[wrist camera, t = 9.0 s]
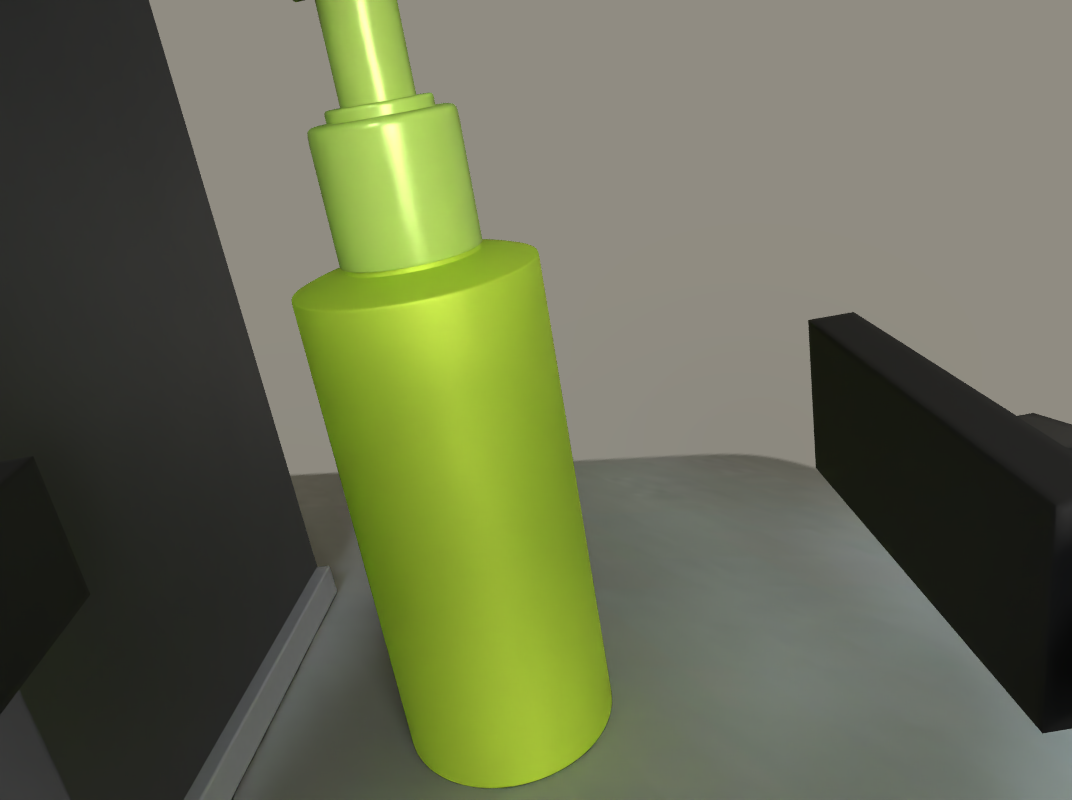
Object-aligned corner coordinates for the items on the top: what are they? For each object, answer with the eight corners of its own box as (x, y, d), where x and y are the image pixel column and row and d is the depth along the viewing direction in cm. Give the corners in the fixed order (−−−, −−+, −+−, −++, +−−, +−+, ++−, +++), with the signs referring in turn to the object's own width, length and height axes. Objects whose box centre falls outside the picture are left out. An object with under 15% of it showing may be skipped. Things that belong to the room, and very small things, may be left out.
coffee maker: (712, 556, 31) (605, -466, 21) (784, 921, 18) (593, -1340, 8) (143, 610, 34) (-196, -260, 24) (-149, 957, 21) (-1179, -638, 11)
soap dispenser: (671, 752, 23) (551, -115, 15) (410, 810, 22) (163, -50, 15) (623, 622, 28) (518, -63, 21) (413, 666, 28) (232, -14, 21)
